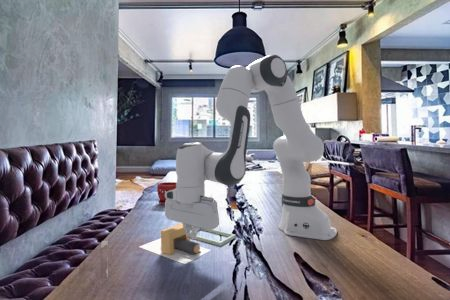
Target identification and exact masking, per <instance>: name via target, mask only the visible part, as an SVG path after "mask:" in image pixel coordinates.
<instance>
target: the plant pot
mask: <svg viewBox="0 0 450 300" xmlns="http://www.w3.org/2000/svg"><path fill="white" fill-rule="evenodd" d="M176 183H177V182H173V181H171V182H169V181H168V182H159V183H157V185H156V187H157V189H156V190H157V196H158V198H159V200H158V204H160V205H162V206H165V201H166V199H167V198H165V192H167V191H170V190H174V189H176Z"/></svg>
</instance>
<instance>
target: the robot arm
mask: <svg viewBox="0 0 450 300" xmlns="http://www.w3.org/2000/svg"><path fill="white" fill-rule="evenodd" d="M287 69H288V68H287V64H286V62H285V61H284V59H283V58H281V56H279V55H277V54H270V55H266V56H264V57H262V58H259V59H257V60H254V61H253V62H252V63H250V64H248V66H243V65H234V66H231V67H230V68H229V69H228V70H227V72H226V73H225V76H224V78H223V80H222V82H221V85H220V87H219V90H218V92H217V96H216V100H215V109H216V112H217V114H219V116H220V117H221V118H222V119H224V120H226V121H228V122H229V123H230V132H229V133H230V134H229V138H228V145H227V149H226V150H225V151H224V152H219V151H214V150H211V149H209V148H207V147H206V146H204V145H203V143H202V142H199V141H192V142H186V143H183V144H181V145H179V146H178V148H177V151H176V156H175V173H176V178H177V179H176V182H175V183H176V189H174V190H170V191H167V192H166V191H165V198H167V199H166V201H165V205H164V215H165V218H166V220H169V221H173V222H176V223H179V224H180V223H183V227H184V230H185V232H186V237H187V238H190V240H191V239H192V240H196V239H195V238H196V235H197V232H199V231H198V229H199V227H200V228H204V229H208V230H213V229H215V230H216V229H217V228H218V227H219V225H220V216H219V209H218V201H216V199H214V197H212V196H211V197H208V196H205V195H206V193H205V191H206V190H205V188H206V186H205V185H206V184H205V181H210V182H213V183H219V184H221V185H225V186H226V187H234V186H236V185H238V184H239V183H240V182H241V181H242V180H243V179H244V177H245V174H246V171H247V170H246V169H247V162H246V159H247V157H246V155H247V149H248V141H249V135H250V128H251V113H250V110H249V107H248V105H249V101H250V99H251V98H250V97H251V95H254V94H256V93H259V92H263V91H265V93H266V94H267V97H268V103H269V106H270V109H271V113H272V117H273V121H274V123H275V125H276V127H278V129H280V130H281V132H283V135H282V136H279V137H278V138H276V139H275V140H274V142H273V144H272V150H273V153H274V155H275V156H276V158H277V159H278V162H279V166H280V169H281V174H282V194H281V207H282V211H281V218H280V222H279V225H278V229H280V230H281V231H282V232H284V234H285V235H286V236H293V237H298V238H306V239H307V238H308V239H313V240H314V239H315V240H322V241H329V240H332V239H334V238H335V237H336V236H337V233H338V232H337V228H336V227H333V226H331V219H330V218H329V215H328V214H327V213H325V212H324V211H323V210H322V209H321V208H320V207H318V206H317V205H316V201H317V197H314V196H313V195H311V175H310V173H309V172H308V171H307V169H306V167H305V164H304V163H311V162H316V161H319V160H320V159H321V158H322V156H323V155H324V152H325V145H324V142H323V140H322V139H321V138H320V137H319V136H317V135H316V133H314V132H313V130H312V129H311V128H310V126H309V125H308V123H307V121H306V119H305V117H304V115H303V111H302V107H301V105H300V100H299V98H298V94H297V92H296V88H295V86H294V83H293V81H292V80H291V79H292V78H291V77H290V76H289V75H288V70H287ZM189 225H190V226H189ZM192 229H193V230H192ZM191 230H192V231H191Z"/></svg>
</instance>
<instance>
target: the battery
mask: <svg viewBox="0 0 450 300" xmlns="http://www.w3.org/2000/svg"><path fill="white" fill-rule="evenodd" d="M173 245H174V248H176V249H179V250H182V251H185V252H188V253H191V254H197V253H198V252H199V250H200V247H201V245H200V243H198V242H195V241H192V240H190V241H189V240H186V239H182V238H179V237H178V238H175V239H173Z"/></svg>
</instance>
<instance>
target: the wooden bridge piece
mask: <svg viewBox="0 0 450 300" xmlns="http://www.w3.org/2000/svg"><path fill="white" fill-rule="evenodd" d="M189 226H190V227H191V225H189ZM178 237H179V238H182V239H186V240H189V241H191V238H187V237H186V232H185V230H184V227H183V223H180V222H179V223H178V224H174V225H172V226H170V227H169V226H168V227H167V228H164V229H161V230H160V238H161V252H163V253H166V254H168V255H171V254H173V253H174V245H173V239H175V238H178Z"/></svg>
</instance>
